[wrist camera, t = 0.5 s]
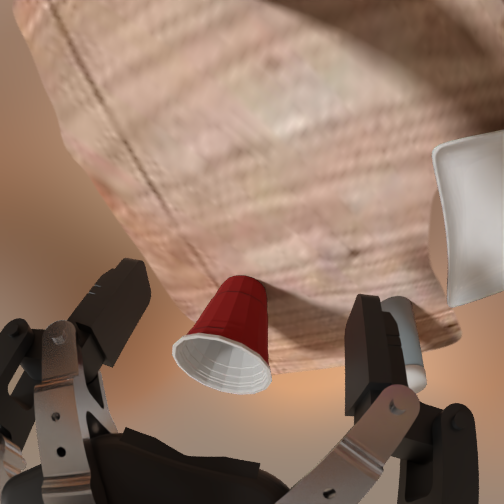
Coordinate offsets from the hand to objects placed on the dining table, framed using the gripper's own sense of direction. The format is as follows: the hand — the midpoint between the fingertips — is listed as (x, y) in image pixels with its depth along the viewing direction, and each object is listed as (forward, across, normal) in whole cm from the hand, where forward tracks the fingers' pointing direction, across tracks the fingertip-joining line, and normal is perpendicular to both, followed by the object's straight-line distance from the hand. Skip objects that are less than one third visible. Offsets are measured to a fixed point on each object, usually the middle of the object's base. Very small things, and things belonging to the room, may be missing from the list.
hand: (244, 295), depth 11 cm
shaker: (+20, -16, +18) cm, 31 cm away
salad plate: (+19, -26, 0) cm, 32 cm away
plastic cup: (+20, +4, +18) cm, 27 cm away
